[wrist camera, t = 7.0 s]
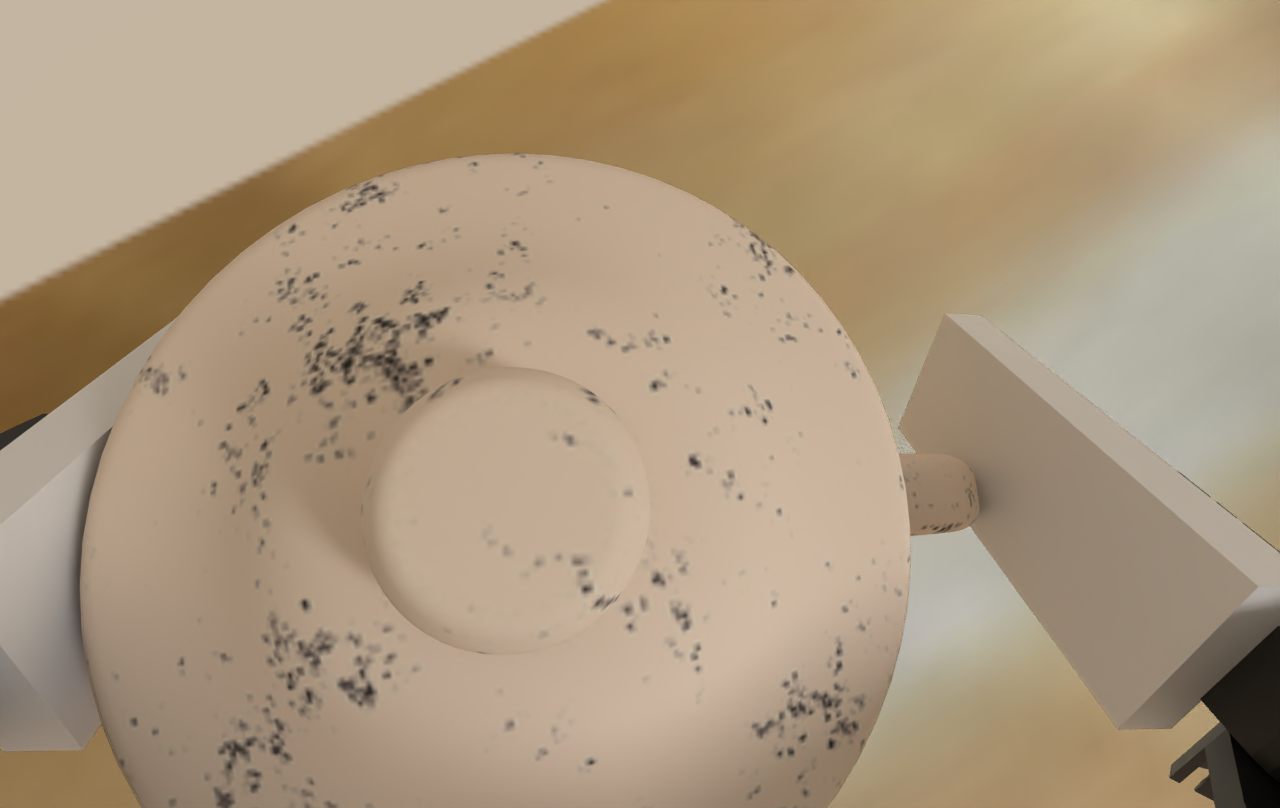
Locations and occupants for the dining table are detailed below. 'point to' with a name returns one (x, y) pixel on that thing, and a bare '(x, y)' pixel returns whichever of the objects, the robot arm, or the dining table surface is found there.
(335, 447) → the teacup with lid
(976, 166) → the dining table surface
